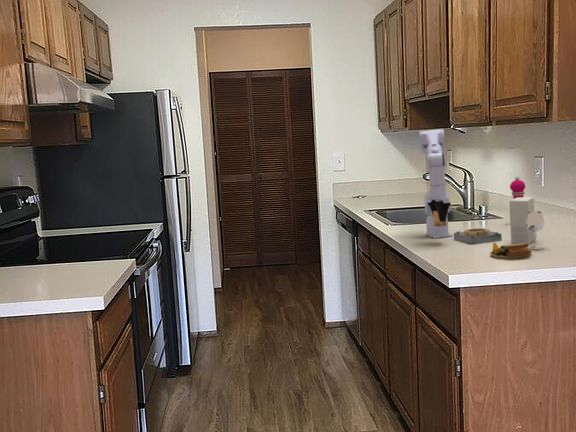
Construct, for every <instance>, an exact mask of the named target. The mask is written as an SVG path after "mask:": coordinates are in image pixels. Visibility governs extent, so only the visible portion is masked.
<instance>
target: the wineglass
mask: <svg viewBox="0 0 576 432" xmlns="http://www.w3.org/2000/svg"><path fill="white" fill-rule="evenodd" d="M525 224H526V227H527V229H529V230H531V231H534V237H535V241H534V245H533V246H528V249H529V250H541V249H544V247H543V246H540V245H538V244H537V237H538V233H537V232H538V231H541V230H543V228H544V227H545V218H544V214H543V212H542V211H535V210H534V212H527V214H526V220H525Z"/></svg>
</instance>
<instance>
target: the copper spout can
mask: <svg viewBox="0 0 576 432" xmlns="http://www.w3.org/2000/svg"><path fill="white" fill-rule="evenodd" d="M433 216H434V226H445V225H446V221H443V222H440V220H439V216H438V211H437V210H435V211H433Z"/></svg>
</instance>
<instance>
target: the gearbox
mask: <svg viewBox="0 0 576 432" xmlns="http://www.w3.org/2000/svg"><path fill="white" fill-rule="evenodd" d="M502 237H503V236H502V233H500V232H498V231H492V230H490V229H489V228H484V227H483V228H482V227H481V228H480V227H479V228H468V229H466V230H464V231H459V230H458V231H456V232H453V240H454V239H455V241H459V242H461V243H465V244H469V245H476V244H485V243H491V242H493V243H495V242H499V241H500V242H501V241H502V240H503V239H502Z"/></svg>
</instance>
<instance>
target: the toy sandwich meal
mask: <svg viewBox="0 0 576 432" xmlns="http://www.w3.org/2000/svg"><path fill="white" fill-rule="evenodd" d="M529 245H530V244H528V243H527V244H524V243H520V244H506V245H505V244H504V245H500V247H499V246H498V244H497V243H496V242H493V243H492V251H490V253H489V254H490V255H491V256H492V258H495V259H502V260H515V259H523V258H527V257H529V256H530V255H531V254H532V249H529V247H530V246H529Z"/></svg>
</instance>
